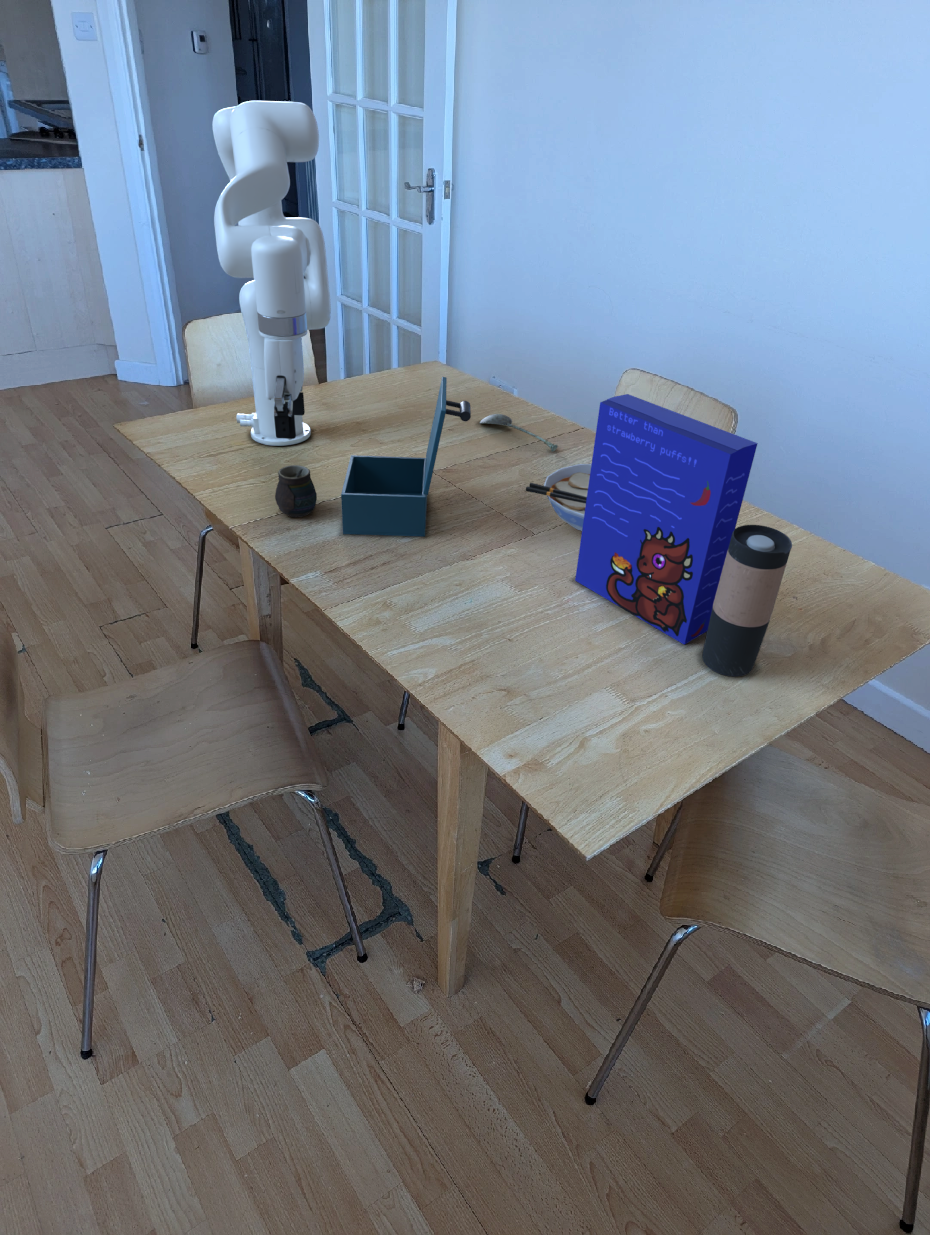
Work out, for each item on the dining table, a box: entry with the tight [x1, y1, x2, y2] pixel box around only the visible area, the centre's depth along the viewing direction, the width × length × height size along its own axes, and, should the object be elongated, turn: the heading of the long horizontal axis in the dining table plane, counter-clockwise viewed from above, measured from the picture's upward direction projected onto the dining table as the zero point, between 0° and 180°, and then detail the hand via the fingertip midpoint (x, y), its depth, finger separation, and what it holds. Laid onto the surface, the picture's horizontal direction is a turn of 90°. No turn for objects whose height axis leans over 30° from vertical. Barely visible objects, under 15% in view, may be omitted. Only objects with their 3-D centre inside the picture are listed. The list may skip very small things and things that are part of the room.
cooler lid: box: [423, 376, 472, 496], centre depth 141 cm, size 15×16×5 cm
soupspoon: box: [479, 413, 559, 453], centre depth 181 cm, size 22×3×7 cm
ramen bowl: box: [525, 463, 592, 532], centre depth 146 cm, size 25×23×8 cm
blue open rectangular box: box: [340, 454, 428, 538], centre depth 147 cm, size 14×16×8 cm
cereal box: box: [574, 393, 758, 645], centre depth 119 cm, size 22×6×30 cm, turn 40°
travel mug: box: [701, 524, 793, 678], centre depth 111 cm, size 8×8×20 cm
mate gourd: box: [274, 464, 318, 518], centre depth 145 cm, size 7×8×10 cm
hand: (290, 425), depth 139 cm, fingers open, 9 cm apart
